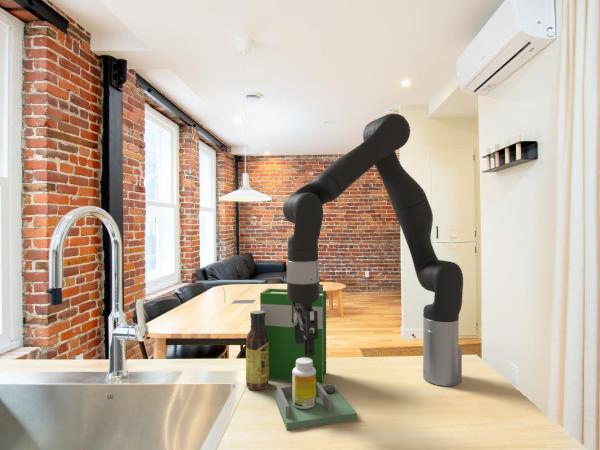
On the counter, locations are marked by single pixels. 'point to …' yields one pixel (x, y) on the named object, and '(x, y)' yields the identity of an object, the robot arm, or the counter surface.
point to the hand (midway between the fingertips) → (304, 349)
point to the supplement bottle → (304, 384)
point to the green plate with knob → (314, 408)
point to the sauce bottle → (257, 353)
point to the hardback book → (290, 335)
